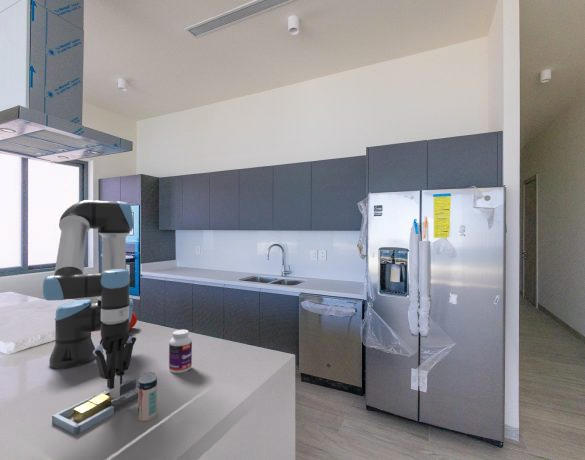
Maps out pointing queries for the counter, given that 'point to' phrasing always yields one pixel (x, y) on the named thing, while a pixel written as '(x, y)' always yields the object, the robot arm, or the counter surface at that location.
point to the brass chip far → (101, 402)
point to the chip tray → (77, 428)
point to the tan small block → (84, 411)
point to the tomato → (133, 320)
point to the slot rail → (123, 394)
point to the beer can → (147, 396)
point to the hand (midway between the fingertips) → (114, 397)
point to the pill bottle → (180, 352)
